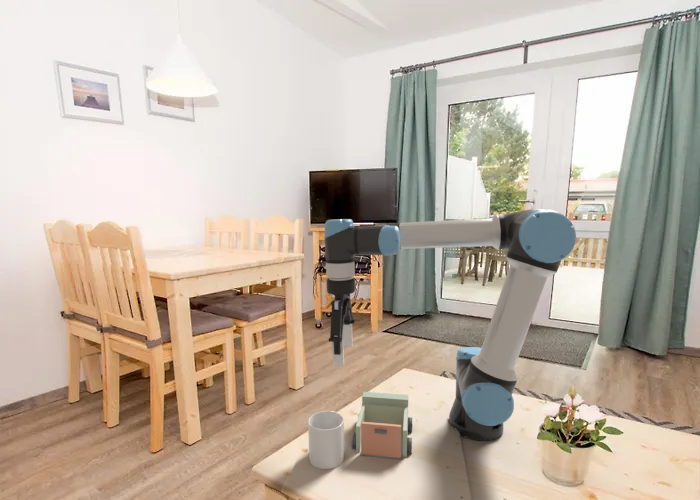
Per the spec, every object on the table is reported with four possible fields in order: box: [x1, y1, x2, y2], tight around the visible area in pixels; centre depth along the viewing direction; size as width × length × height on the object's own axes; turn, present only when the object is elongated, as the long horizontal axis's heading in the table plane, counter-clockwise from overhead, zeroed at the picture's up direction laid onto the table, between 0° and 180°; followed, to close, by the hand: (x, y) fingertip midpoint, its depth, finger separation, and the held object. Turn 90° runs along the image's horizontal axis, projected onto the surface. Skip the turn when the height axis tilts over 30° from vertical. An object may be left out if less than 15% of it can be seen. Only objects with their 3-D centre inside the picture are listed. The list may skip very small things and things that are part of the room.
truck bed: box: [351, 391, 413, 458], centre depth 107 cm, size 15×15×10 cm
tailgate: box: [359, 422, 403, 461], centre depth 99 cm, size 10×2×9 cm, turn 80°
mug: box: [307, 410, 345, 470], centre depth 100 cm, size 12×9×11 cm
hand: (343, 355), depth 105 cm, fingers open, 13 cm apart
